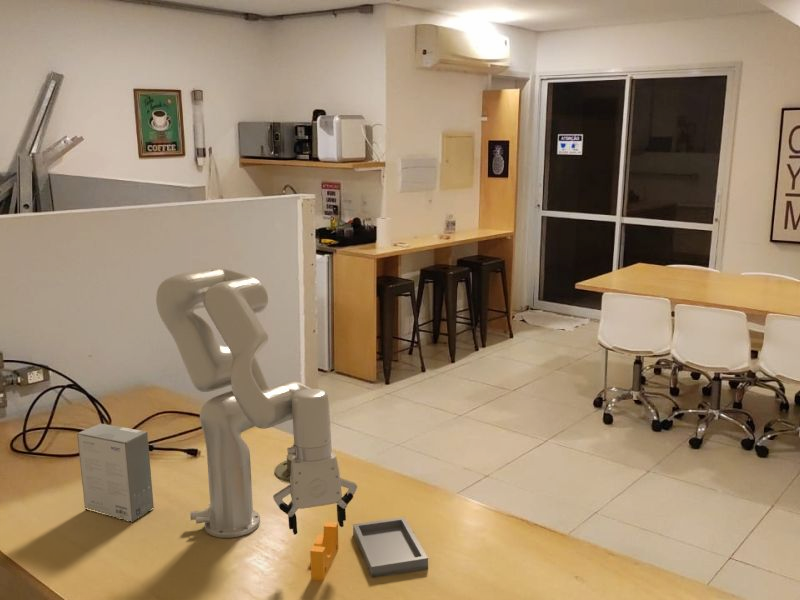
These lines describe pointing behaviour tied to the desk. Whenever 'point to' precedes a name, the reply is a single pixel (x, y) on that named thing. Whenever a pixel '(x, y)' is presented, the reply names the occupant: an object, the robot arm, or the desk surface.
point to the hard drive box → (116, 471)
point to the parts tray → (389, 547)
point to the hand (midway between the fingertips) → (317, 527)
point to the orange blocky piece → (324, 551)
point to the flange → (284, 469)
